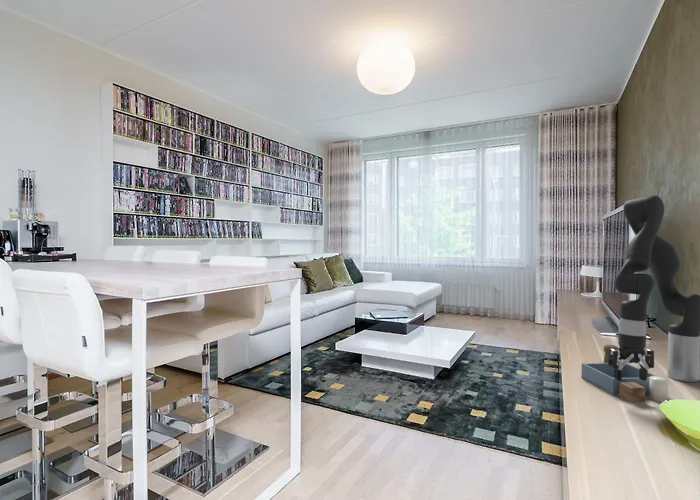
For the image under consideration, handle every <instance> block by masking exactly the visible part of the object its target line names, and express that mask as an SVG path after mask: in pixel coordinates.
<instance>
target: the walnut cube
mask: <svg viewBox="0 0 700 500" xmlns="http://www.w3.org/2000/svg"><path fill="white" fill-rule="evenodd" d="M618 397H619V398H621V399H623V400H625V401H626V402H629V403H630V404H631V403H646V394H645V387H643V386H641V385H639V384H637V383H634V382H619V395H618Z"/></svg>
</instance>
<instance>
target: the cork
mask: <svg viewBox="0 0 700 500" xmlns="http://www.w3.org/2000/svg"><path fill="white" fill-rule="evenodd" d="M610 349H614V350H618V349H619V347H618V346H617V345H614V344H605V345H604V346H603V352H604V356H603V362H602V363H608V360H609V350H610Z"/></svg>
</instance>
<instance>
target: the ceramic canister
mask: <svg viewBox="0 0 700 500" xmlns="http://www.w3.org/2000/svg"><path fill="white" fill-rule="evenodd" d="M648 399H649V400H651V401H654V402H658V403H663V402H662V401H665V400H668V401H669V379H668V378H665V377H662V376H658V375H656V376H650V379H649V394H648Z"/></svg>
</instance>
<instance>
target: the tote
mask: <svg viewBox="0 0 700 500" xmlns="http://www.w3.org/2000/svg"><path fill="white" fill-rule="evenodd" d="M619 365H620V364H619ZM639 368H640V367H637V366H634V365H632V364H631V363H628V364H627V365H625V366H624V367H623V368H622V369H621V370H622V381H618V380H616V379H615V378H614V368H613V367H611V366H609V365H608V363H603V362H591V363H590V362H589V363H588V362H587V363H586V362H585V363H581V378H582V379H583V380H585V381H587V382H589V383H590V384H592V385H593V386H596V387H598V388H599V389H601V390H603V391H605V392H606V393H608V394H610V395H612V396H619V382H634V383H637V384H639V385H641V386H643V387H645V395H649V379H650V376H657V375H656V374H653V373H651V372H649V371H648V374H647V379H646V381H643V380H641V379H639Z"/></svg>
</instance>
